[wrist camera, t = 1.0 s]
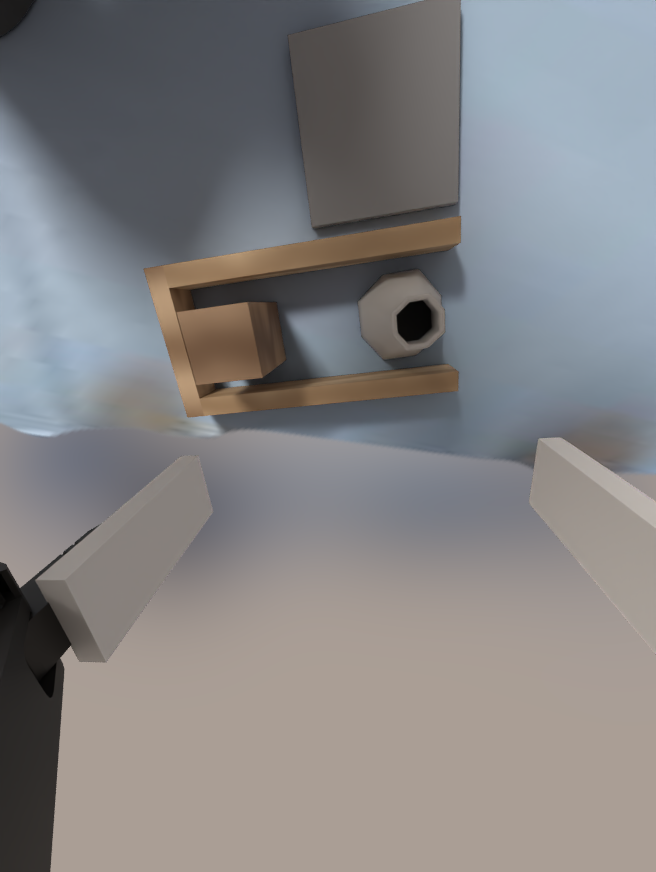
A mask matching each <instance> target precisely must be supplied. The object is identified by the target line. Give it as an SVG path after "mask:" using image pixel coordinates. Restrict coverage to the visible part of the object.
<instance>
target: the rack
mask: <svg viewBox="0 0 656 872" xmlns="http://www.w3.org/2000/svg"><path fill="white" fill-rule="evenodd" d="M459 243H461V216H458V217H452V218H446V219H440V220H434V221H428V222H422V223H416V224H410V225H404V226H398V227H392V228H385V229H379V230H373V231H367V232H361V233H355V234H349V235H343V236H337V237H331V238H325V239H319V240H313V241H307V242H301V243H295V244H289V245H283V246H277V247H271V248H265V249H259V250H253V251H247V252H241V253H235V254H229V255H223V256H217V257H211V258H205V259H199V260H193V261H186V262H180V263H174V264H168V265H162V266H156V267H150V268H144V272H145V275H146V279H147V282H148V286H149V289H150V292H151V296H152V299H153V302H154V306H155V309H156V313H157V316H158V319H159V323H160V326H161V329H162V333H163V336H164V340H165V343H166V346H167V350H168V353H169V356H170V360H171V363H172V367H173V370H174V373H175V377H176V380H177V383H178V387H179V390H180V394H181V397H182V400H183V404H184V407H185V410H186V414H187V417H198V416H208V415H218V414H228V413H239V412H249V411H259V410H269V409H279V408H290V407H300V406H310V405H320V404H331V403H341V402H351V401H361V400H371V399H382V398H392V397H402V396H412V395H422V394H433V393H443V392H453V391H458V373H459V371H457V370H456V369H454V368H453V367H452V366H450V365H449V364H442V365H433V366H424V367H415V368H405V369H396V370H387V371H378V372H369V373H360V374H350V375H341V376H332V377H323V378H314V379H304V380H295V381H286V382H277V383H268V384H259V385H249V386H240V387H231V388H222V389H215V385H214V383H211V384H202V385H196V381H195V378H194V374H193V371H192V367H191V363H190V360H189V356H188V352H187V349H186V345H185V342H184V338H183V334H182V331H181V327H180V323H179V320H178V316H177V313H176V312H182V311H189V310H195V307H194V303H193V299H192V295H191V291H190V290H192V289H198V288H205V287H211V286H218V285H224V284H231V283H238V282H244V281H251V280H257V279H264V278H270V277H277V276H283V275H290V274H296V273H303V272H309V271H316V270H322V269H329V268H335V267H342V266H348V265H355V264H361V263H368V262H375V261H381V260H388V259H394V258H401V257H407V256H414V255H420V254H427V253H433V252H440V251H446V250H449V249H451V248H453V247H454V246H456V245H458V244H459Z"/></svg>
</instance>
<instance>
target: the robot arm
mask: <svg viewBox="0 0 656 872" xmlns="http://www.w3.org/2000/svg"><path fill="white" fill-rule="evenodd" d="M32 2H33V0H0V36H2V35H4V34H5V33H7V32H8V31H10V30H11V29H12V28H13V27H15V26H16V25H17V24H18V23H19V22H20V21H21V19H22V18H23V17H24V15H25V14H26V12H27V11H28V9H29V8H30V6H31V4H32ZM529 504H530V505H531V506H532V507H533V509H534V510H535V511H536V512H537V513H538V515H539V516H540V517H541V518H542V519H543V521H544V522H545V523H546V524H547V525H548V527H549V528H550V529H551V530H552V531H553V533H554V534H555V535H556V536H557V537H558V539H559V540H560V541H561V542H562V543H563V545H565V547H566V548H567V549H568V551H569V552H570V553H571V554H572V555H573V556H574V558H575V559H576V560H577V561H578V562H579V564H580V565H581V566H582V567H583V568H584V570H585V571H586V572H587V573H588V574H589V576H590V577H591V578H592V579H593V580H594V581H595V583H596V584H597V585H598V586H599V588H601V590H602V591H603V592H604V594H605V595H606V596H607V597H608V598H609V599H610V601H611V602H612V603H613V604H614V605H615V607H616V608H617V609H618V610H619V611H620V613H621V614H622V615H623V616H624V617H625V619H626V620H627V621H628V622H629V623H630V625H631V626H632V627H633V628H634V629H635V631H636V632H637V633H638V634H639V635H640V637H641V638H642V639H643V640H644V641H645V642H646V643H647V645H648V646H649V647H650V649H651V650H652V651H653V652H654V653H655V654H656V501H655V500H653V499H652V498H650V497H649V496H647V495H646V494H644V493H643V492H641V491H640V490H638V489H637V488H635V487H634V486H632V485H631V484H629V483H628V482H626V481H625V480H623V479H622V478H620V477H619V476H618V475H616V474H615V473H613V472H612V471H610V470H609V469H607V468H606V467H604V466H603V465H601V464H600V463H598V462H597V461H595V460H594V459H592V458H591V457H589V456H588V455H586V454H585V453H583V452H582V451H581V450H579V449H578V448H576V447H575V446H573V445H572V444H570V443H569V442H567V441H566V440H564V439H563V438H561V437H559V438H538V444H537V451H536V458H535V465H534V471H533V478H532V485H531V491H530V498H529ZM212 513H213V509H212V505H211V502H210V498H209V494H208V490H207V486H206V483H205V479H204V475H203V471H202V467H201V464H200V460H199V456H198V455H197V456H196V455H195V456H181V457H179V458H178V459H177V460H176V461H175V462H174V463H173V464H171V465H170V466H169V467H168V468H167V469H165V470H164V471H163V472H162V473H161V474H160V475H159V476H157V477H156V478H155V479H154V480H152V481H151V482H150V483H149V484H148V485H147V486H145V487H144V488H143V489H142V490H141V491H139V492H138V493H137V494H136V495H135V496H134V497H132V498H131V499H130V500H129V501H128V502H126V503H125V504H124V505H123V506H122V507H121V508H119V509H118V510H117V511H116V512H115V513H114V514H112V515H111V516H110V517H109V518H108V519H107V520H106V521H104V522H103V523H102V524H100V525H98V526H96V527H95V528H93V529H91V530H90V531H88V532H87V533H86V534H84V535H83V536H82V537H81V538H80V539H79V540H77V541H76V542H75V544H74V545H71V546H70V547H69V548H68V549H67V550H66V551H64V552H63V555H59V556H58V557H57V558H56V559H55V560H53V561H52V562H51V563H50V564H49V565H47V566H46V567H45V568H44V569H43V570H41V571H40V572H39V573H38V574H37V575H35V576H34V577H33V578H32V579H31V580H30V581H28V582H27V583H26V584H25V585H24V586H22V587H21V588H19V586H18V584H17V583H16V581H15V579H14V577H13V576H12V574H11V572H10V570H9V569H8V567H7V565H6V564H4V563H1V562H0V872H50V867H51V866H50V865H51V852H52V838H53V823H54V810H55V809H54V808H55V795H56V781H57V767H58V752H59V739H60V724H61V710H62V696H63V682H64V666H63V663H62V661H61V659H60V657H61V656H62V655H63V654H64V653H65V652H66V650H67V649H68V648H69V647H70V646H71V647H72V649H73V651H74V653H75V654H76V656H77V658H78V660H79V661H80V662H107V661H108V659H109V658H110V656H111V655H112V654H113V652H114V651H115V649H116V648H117V647H118V645H119V643H120V642H121V641H122V639H123V638H124V637H125V635H126V634H127V632H128V631H129V630H130V628H131V627H132V625H133V624H134V623H135V621H136V620H137V618H138V617H139V615H140V614H141V613H142V611H143V610H144V608H145V607H146V606H147V604H148V603H149V601H150V600H151V599H152V597H153V596H154V594H155V593H156V592H157V590H158V589H159V587H160V586H161V584H162V583H163V581H164V580H165V579H166V577H167V576H168V575H169V573H170V572H171V570H172V569H173V568H174V566H175V565H176V563H177V562H178V561H179V559H180V558H181V556H182V555H183V553H184V552H185V551H186V549H187V548H188V546H189V545H190V544H191V542H192V541H193V539H194V538H195V537H196V535H197V534H198V532H199V531H200V529H201V528H202V527H203V525H204V524H205V522H206V521H207V520H208V518H209V517H210V515H211V514H212Z"/></svg>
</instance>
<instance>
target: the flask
mask: <svg viewBox="0 0 656 872" xmlns="http://www.w3.org/2000/svg"><path fill="white" fill-rule="evenodd" d="M358 310H359V319H360V328H361V337H362V338H363V339H364V340H365V341H366V342H367V343H368V344H369V345H370V346H371V347H372V348H373V349H374V350H375V351H376V352H377V354H378V355H379V356H380V357H381V358H382V359H383V360H387V359H394V358H401V357H408V356H415V355H417V354H418V353H419V352H420V351H421V350H423V349H424V348H429V347H430V346H431V345H432V344H433V343H434V342H435V341H436V340H437V339H438V338H439V337H441V336H442V335H443V334H444V333H445V309H444V308H443V307H442V305H441V295H440V293H439V292H438V291H437V290H436V289H435V288H434V286H433V285H432V284H431V283H430V282H429V281H428V279H427V278H426V277H425V276H424V275H423V273H422V272H421V271H420V270H419V269H414V270H408V271H403V272H397V273H391V274H386V275H382V276H381V277H380V279H379V280H378V281H377V282H376V283H375V284H374V285H373V286H372V287H371V288H370V289H369V290H368V291H367V292H366V293H365V295H364V296H363V297H362V298H361V299H360V300H359V301H358Z"/></svg>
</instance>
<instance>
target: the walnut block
mask: <svg viewBox="0 0 656 872" xmlns="http://www.w3.org/2000/svg"><path fill="white" fill-rule="evenodd" d="M176 313H177V316H178V320H179V323H180V327H181V331H182V334H183V338H184V342H185V345H186V349H187V352H188V356H189V360H190V363H191V367H192V371H193V374H194V378H195V381H196V385H202V384H211V383H220V382H229V381H238V380H247V379H256V378H263V377H264V376H266V375H267V374H268V373H270V372H271V371H272V370H274V369H275V368H276V367H277V366H279V365H280V364H281V363H283V362H284V361H285V360H286V355H285V349H284V343H283V337H282V331H281V326H280V320H279V314H278V308H277V302H244V303H237V304H230V305H223V306H216V307H209V308H203V309H196V310H189V311H182V312H176Z"/></svg>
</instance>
